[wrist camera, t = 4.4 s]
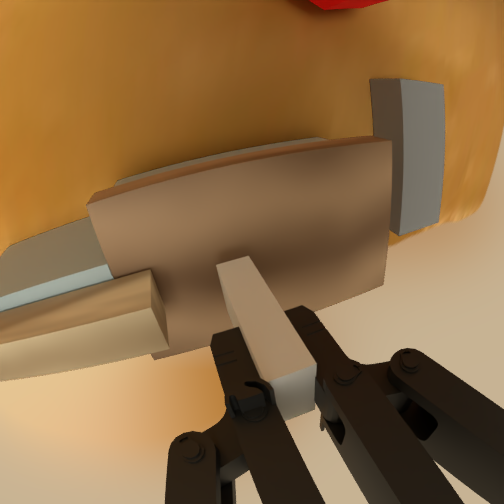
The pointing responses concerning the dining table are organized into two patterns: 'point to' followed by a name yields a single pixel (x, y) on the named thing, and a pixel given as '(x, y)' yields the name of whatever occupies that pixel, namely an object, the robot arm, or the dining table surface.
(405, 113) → the block
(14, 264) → the grey block with peg
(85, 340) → the bar
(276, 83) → the dining table surface
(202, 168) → the lid
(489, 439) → the robot arm
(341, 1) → the ball
